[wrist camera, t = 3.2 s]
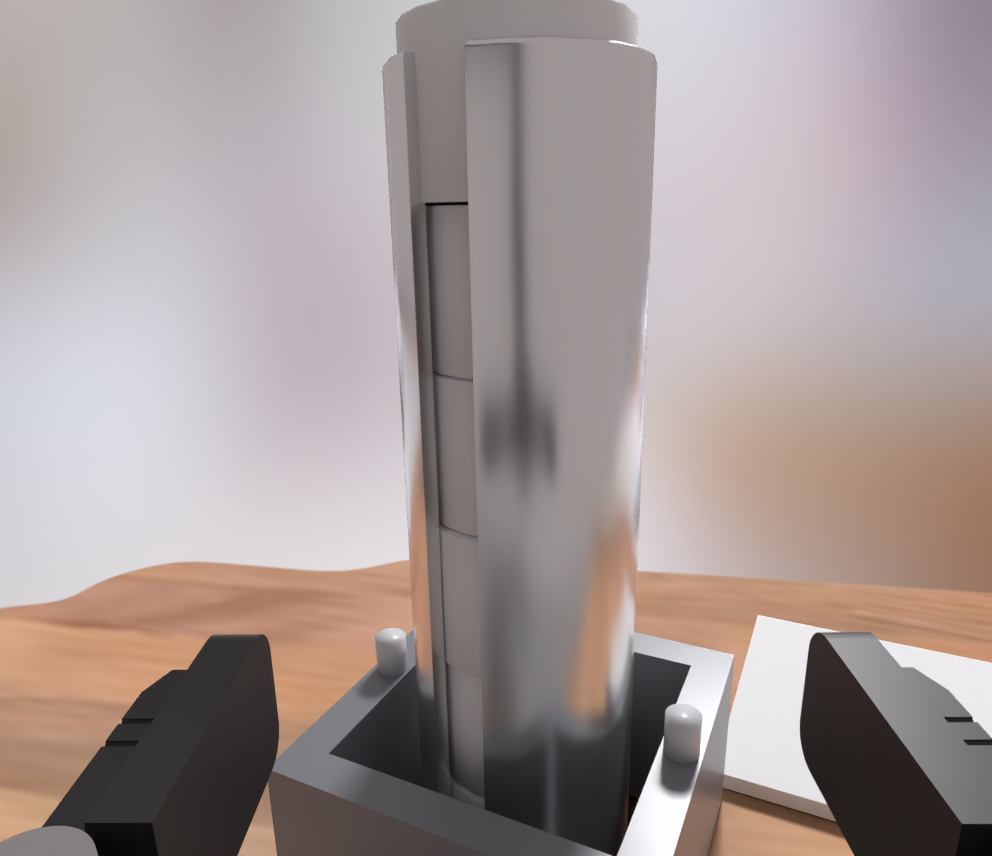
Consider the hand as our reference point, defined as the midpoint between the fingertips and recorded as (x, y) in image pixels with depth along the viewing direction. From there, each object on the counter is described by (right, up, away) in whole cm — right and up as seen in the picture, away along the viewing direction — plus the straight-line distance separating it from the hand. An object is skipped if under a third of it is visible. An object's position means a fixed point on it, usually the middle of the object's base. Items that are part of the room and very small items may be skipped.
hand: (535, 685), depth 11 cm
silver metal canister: (0, -11, +14) cm, 17 cm away
